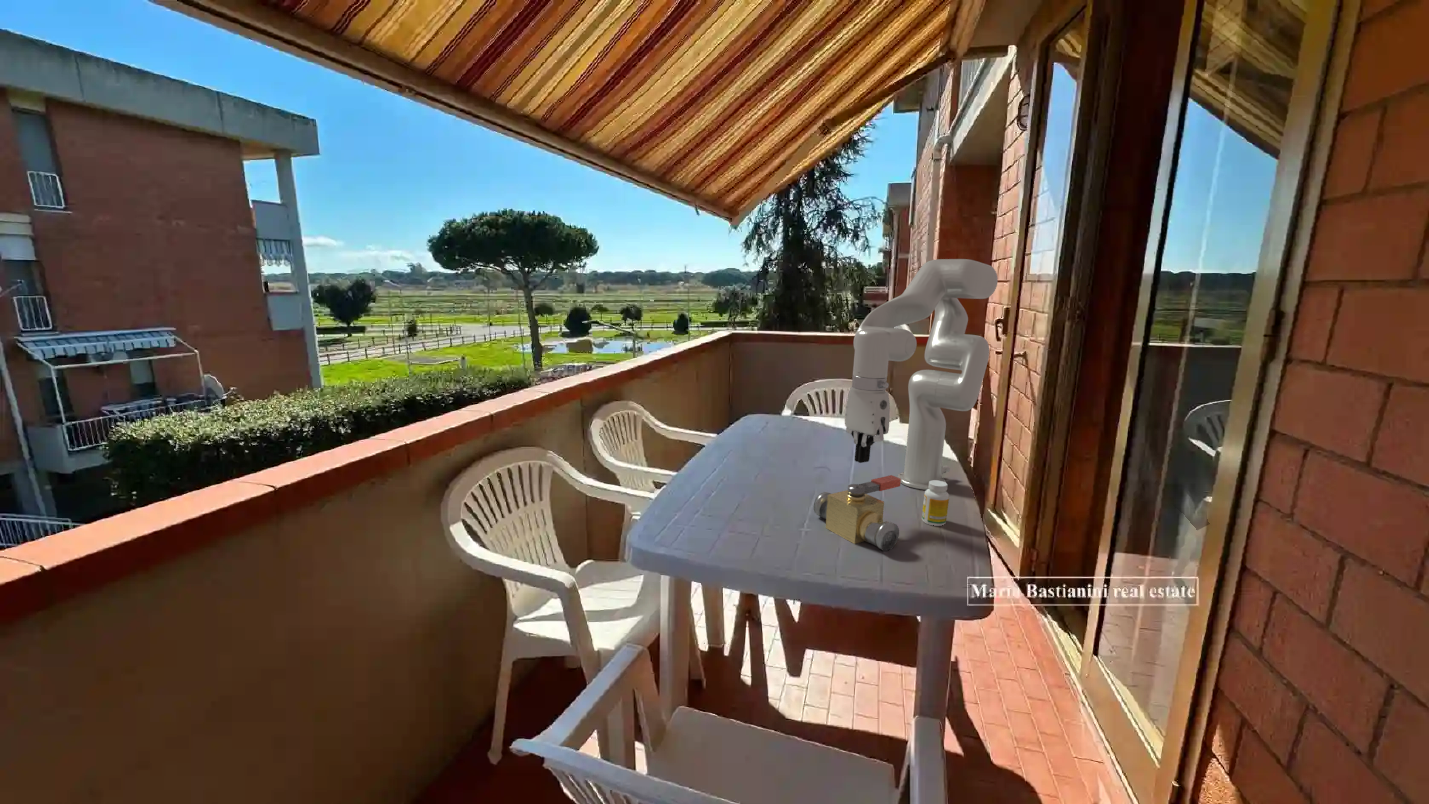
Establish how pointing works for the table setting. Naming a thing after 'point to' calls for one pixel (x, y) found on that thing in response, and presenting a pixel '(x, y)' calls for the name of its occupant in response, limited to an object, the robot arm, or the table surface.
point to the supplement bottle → (935, 503)
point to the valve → (857, 518)
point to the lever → (874, 486)
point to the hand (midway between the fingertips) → (861, 461)
